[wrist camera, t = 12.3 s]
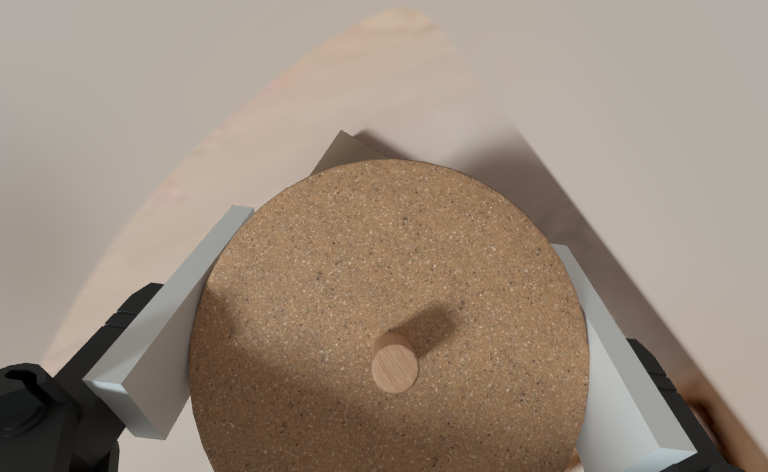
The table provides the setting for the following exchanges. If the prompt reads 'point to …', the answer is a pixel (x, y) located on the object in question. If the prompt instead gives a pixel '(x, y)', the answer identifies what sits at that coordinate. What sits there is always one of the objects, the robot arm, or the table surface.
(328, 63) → the table surface
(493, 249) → the lidded jar
